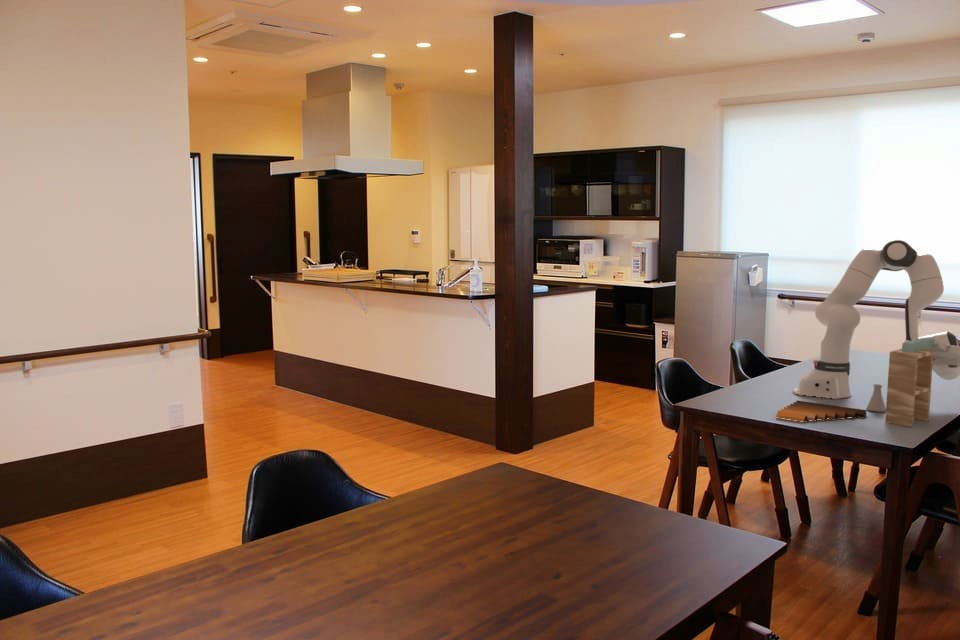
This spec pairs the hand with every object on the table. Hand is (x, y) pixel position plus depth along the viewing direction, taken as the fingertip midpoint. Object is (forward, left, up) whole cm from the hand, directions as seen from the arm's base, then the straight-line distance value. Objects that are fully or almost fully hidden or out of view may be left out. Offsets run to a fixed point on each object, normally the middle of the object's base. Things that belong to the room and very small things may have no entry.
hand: (926, 341), depth 293 cm
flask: (-15, +4, -28) cm, 32 cm away
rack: (-6, -11, -28) cm, 31 cm away
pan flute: (-35, -16, -29) cm, 48 cm away
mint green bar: (-4, -6, -2) cm, 7 cm away
